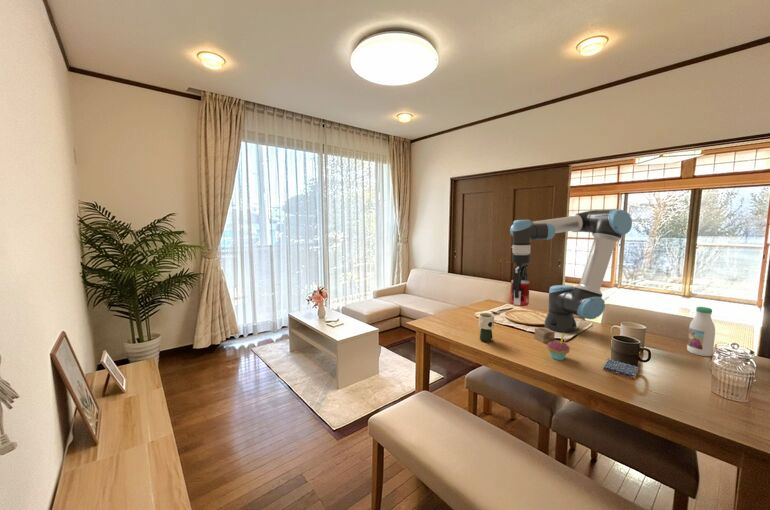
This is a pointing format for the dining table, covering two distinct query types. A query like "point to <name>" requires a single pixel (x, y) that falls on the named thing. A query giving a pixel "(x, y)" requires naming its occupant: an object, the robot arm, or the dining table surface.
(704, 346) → the milk bottle
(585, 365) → the dining table surface
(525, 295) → the canned food
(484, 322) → the character mug
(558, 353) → the cupcake
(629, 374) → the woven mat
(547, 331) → the walnut block
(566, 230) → the robot arm
